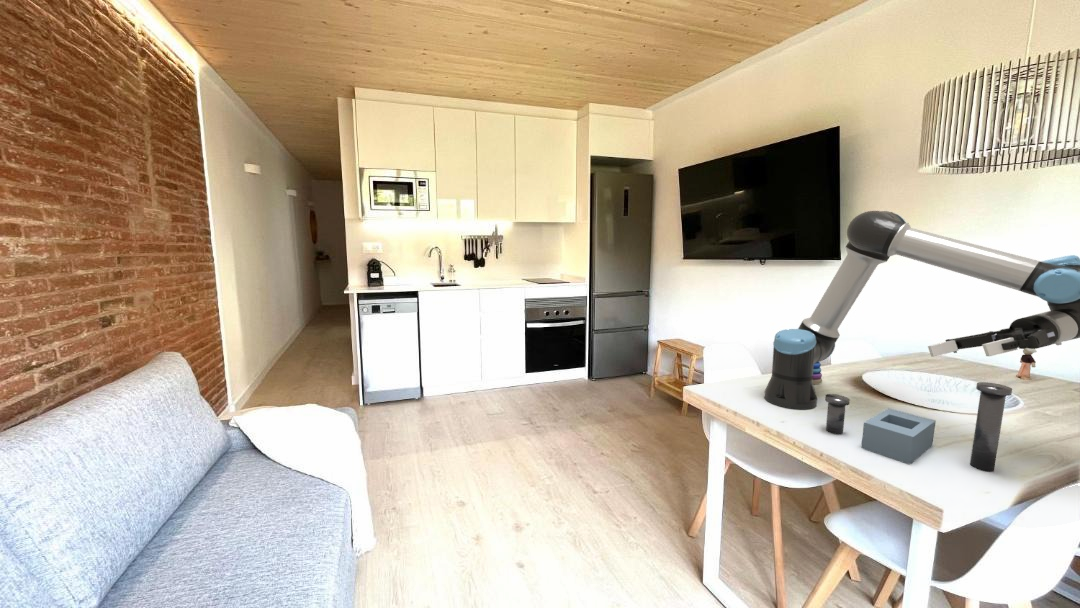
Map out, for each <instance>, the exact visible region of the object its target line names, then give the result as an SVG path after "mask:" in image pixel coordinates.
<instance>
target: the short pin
mask: <svg viewBox="0 0 1080 608" xmlns="http://www.w3.org/2000/svg"><path fill="white" fill-rule="evenodd" d="M824 401H825V402H826V403H828V404H827V413H826V414H827V415H826V423H825V424H826V425H825V431H826V432H827V433H829V434H832V435H843V434H844V426H845V417H846V406H849V405H850V402H851V399H850V398H849V397H848V396H845V395H842V394H836V393H835V394H834V393H827V394H825V397H824Z"/></svg>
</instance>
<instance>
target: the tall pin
mask: <svg viewBox="0 0 1080 608" xmlns="http://www.w3.org/2000/svg"><path fill="white" fill-rule="evenodd" d="M975 389H976V390H977V391H979V392H980V394H979V399H978V407H977V415H976V420H975V421H976V422H975V428H974V434H973V441H972V449H971V456H970V462H969V466H970V467H972V468H973V469H976V470H978V471H982V472H988V473H992V472H993V473H994V471H995V469H996V461H997V453H998V449H999V441H1000V436H1001V429H1002V423H1003V416H1004V410H1005V403H1006V398H1007V396H1008V397H1009V396H1011V395H1012V394H1013V393H1012V392H1013V388H1012V387H1011V386H1008V385H1004V384H999V383H995V382H988V381H987V382H986V381H983V382H982V381H980V382H977V383H976V386H975Z"/></svg>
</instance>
